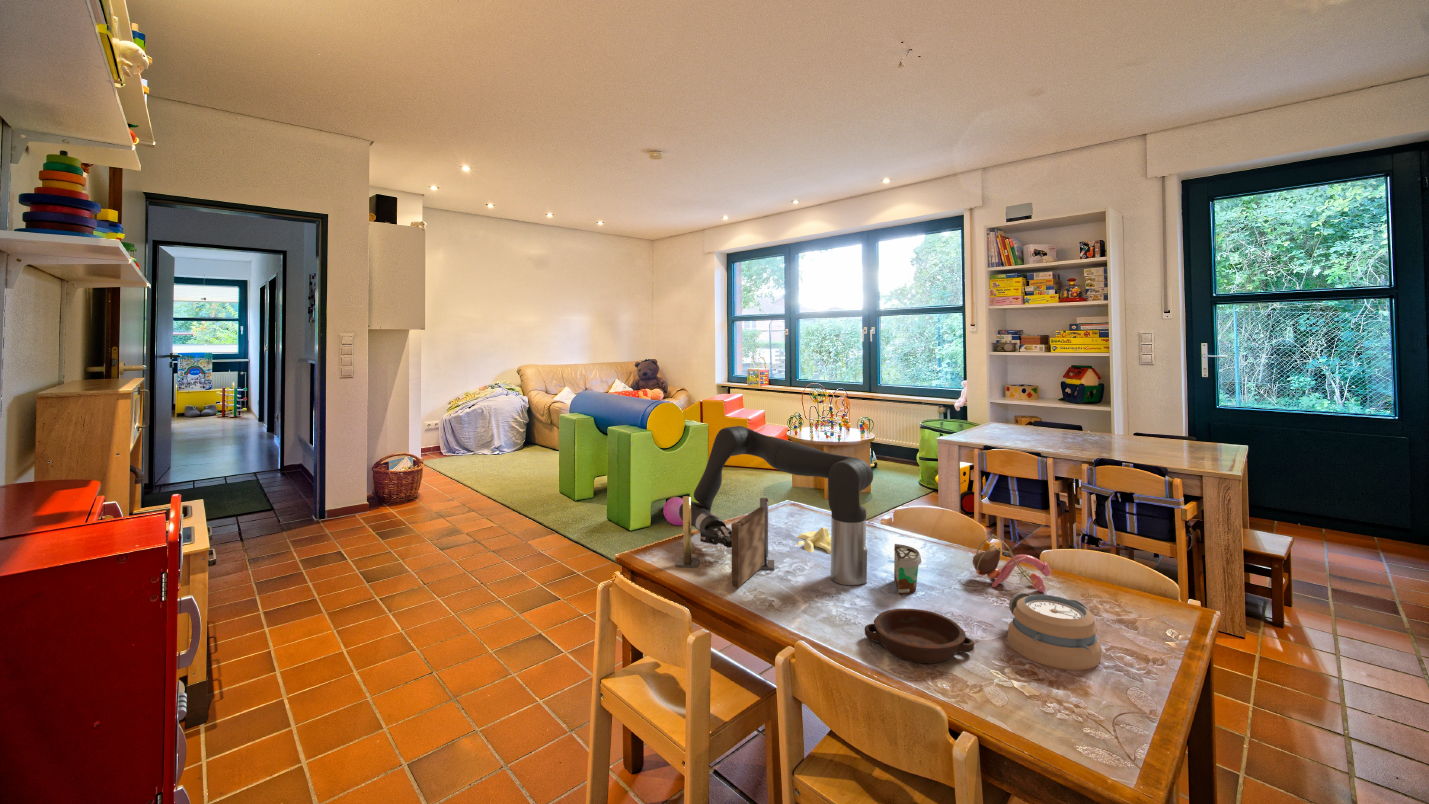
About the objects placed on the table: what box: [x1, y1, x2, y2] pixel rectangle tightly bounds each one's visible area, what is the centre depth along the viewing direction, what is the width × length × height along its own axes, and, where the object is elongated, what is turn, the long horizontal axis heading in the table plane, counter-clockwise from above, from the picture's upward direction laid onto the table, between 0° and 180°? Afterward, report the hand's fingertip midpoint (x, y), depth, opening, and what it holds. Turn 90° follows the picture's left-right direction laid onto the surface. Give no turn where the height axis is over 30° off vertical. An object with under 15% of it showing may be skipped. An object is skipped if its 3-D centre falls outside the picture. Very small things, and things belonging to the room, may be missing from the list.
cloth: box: [796, 527, 831, 555], centre depth 185 cm, size 22×19×6 cm
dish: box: [864, 608, 975, 664], centre depth 122 cm, size 18×22×5 cm
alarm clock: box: [1007, 591, 1102, 671], centre depth 124 cm, size 17×9×23 cm
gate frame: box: [675, 495, 775, 571], centre depth 168 cm, size 28×6×20 cm, turn 85°
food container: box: [893, 543, 922, 596], centre depth 151 cm, size 12×6×10 cm, turn 168°
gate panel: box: [730, 506, 764, 589], centre depth 158 cm, size 18×2×17 cm, turn 152°
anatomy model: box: [971, 534, 1052, 593], centre depth 153 cm, size 11×15×17 cm
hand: (730, 544), depth 165 cm, fingers closed
